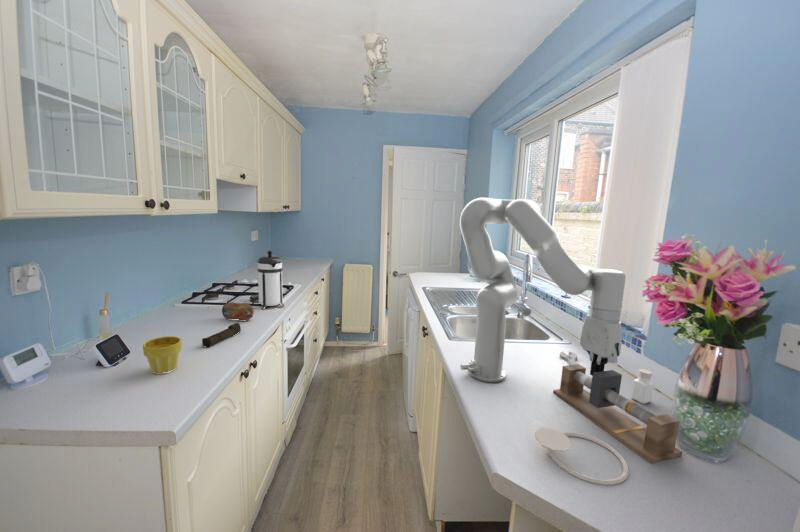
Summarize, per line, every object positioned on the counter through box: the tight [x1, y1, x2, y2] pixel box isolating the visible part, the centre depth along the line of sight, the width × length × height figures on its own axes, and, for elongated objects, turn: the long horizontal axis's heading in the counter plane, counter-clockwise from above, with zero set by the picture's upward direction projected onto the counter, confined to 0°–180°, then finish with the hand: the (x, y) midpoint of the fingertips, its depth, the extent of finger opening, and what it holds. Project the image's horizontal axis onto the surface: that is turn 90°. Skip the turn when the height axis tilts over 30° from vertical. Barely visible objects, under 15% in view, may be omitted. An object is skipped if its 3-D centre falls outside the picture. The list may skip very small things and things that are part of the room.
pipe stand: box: [552, 363, 683, 464], centre depth 98 cm, size 10×32×9 cm, turn 17°
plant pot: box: [142, 335, 183, 373], centre depth 116 cm, size 10×10×10 cm
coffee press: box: [256, 250, 285, 308], centre depth 191 cm, size 17×16×30 cm
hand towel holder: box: [534, 427, 630, 486], centre depth 83 cm, size 17×4×21 cm
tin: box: [221, 302, 255, 322], centre depth 168 cm, size 15×3×8 cm, turn 81°
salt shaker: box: [630, 368, 654, 405], centre depth 109 cm, size 4×4×10 cm
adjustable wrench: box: [559, 351, 578, 365], centre depth 131 cm, size 25×6×2 cm, turn 161°
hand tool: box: [201, 322, 242, 348], centre depth 145 cm, size 19×4×5 cm, turn 162°
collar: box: [589, 369, 623, 408], centre depth 99 cm, size 7×3×9 cm, turn 107°
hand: (596, 375), depth 102 cm, fingers closed
